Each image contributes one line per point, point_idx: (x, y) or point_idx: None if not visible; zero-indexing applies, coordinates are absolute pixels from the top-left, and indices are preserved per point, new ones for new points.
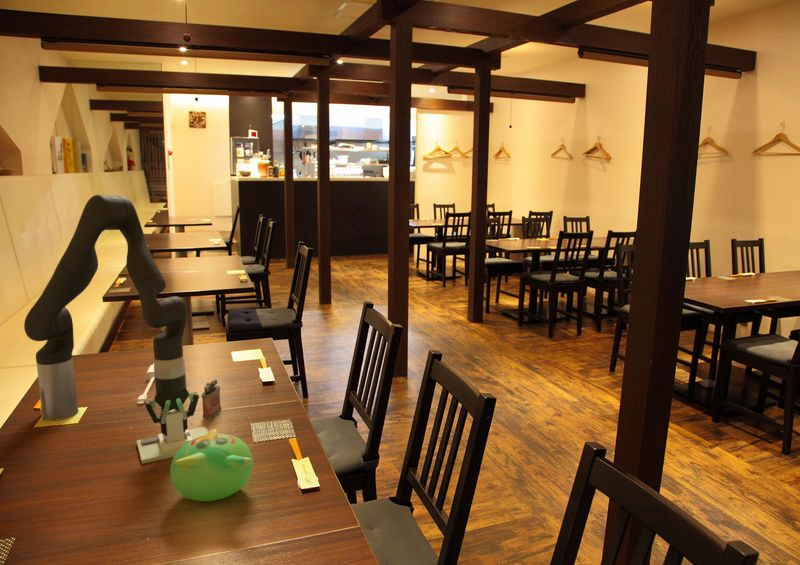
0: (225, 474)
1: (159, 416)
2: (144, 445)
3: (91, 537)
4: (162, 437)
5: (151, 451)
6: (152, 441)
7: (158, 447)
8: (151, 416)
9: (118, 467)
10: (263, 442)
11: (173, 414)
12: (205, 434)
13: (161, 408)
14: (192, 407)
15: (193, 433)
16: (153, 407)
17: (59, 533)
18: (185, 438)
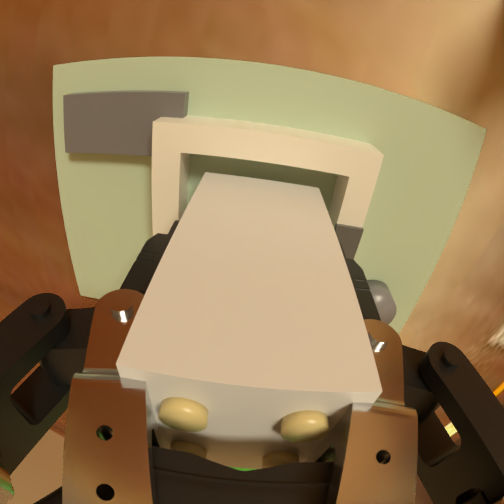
0: None
1: (85, 351)
2: (83, 155)
3: (59, 423)
4: (174, 193)
5: (115, 246)
6: (121, 152)
7: (151, 225)
8: (21, 408)
9: (19, 257)
10: (494, 354)
11: (225, 464)
12: (435, 229)
13: (74, 418)
14: (426, 467)
15: (398, 171)
16: (13, 495)
17: (13, 392)
18: (329, 205)
